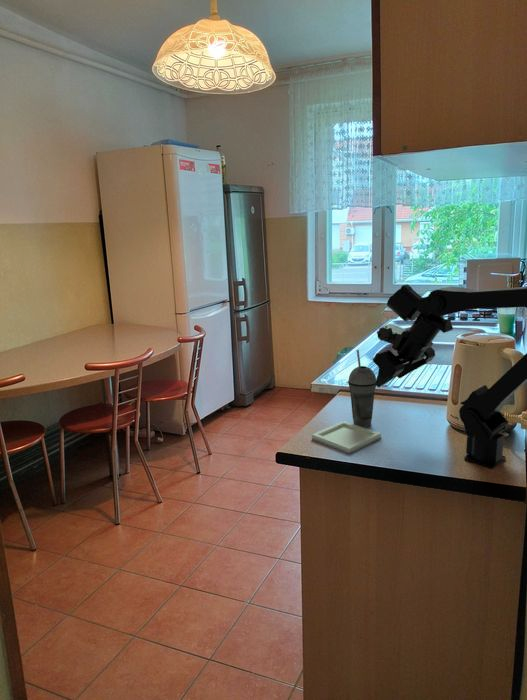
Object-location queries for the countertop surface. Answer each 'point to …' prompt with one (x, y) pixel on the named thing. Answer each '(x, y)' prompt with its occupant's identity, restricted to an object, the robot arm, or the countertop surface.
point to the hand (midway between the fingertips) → (387, 381)
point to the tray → (346, 436)
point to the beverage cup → (362, 394)
